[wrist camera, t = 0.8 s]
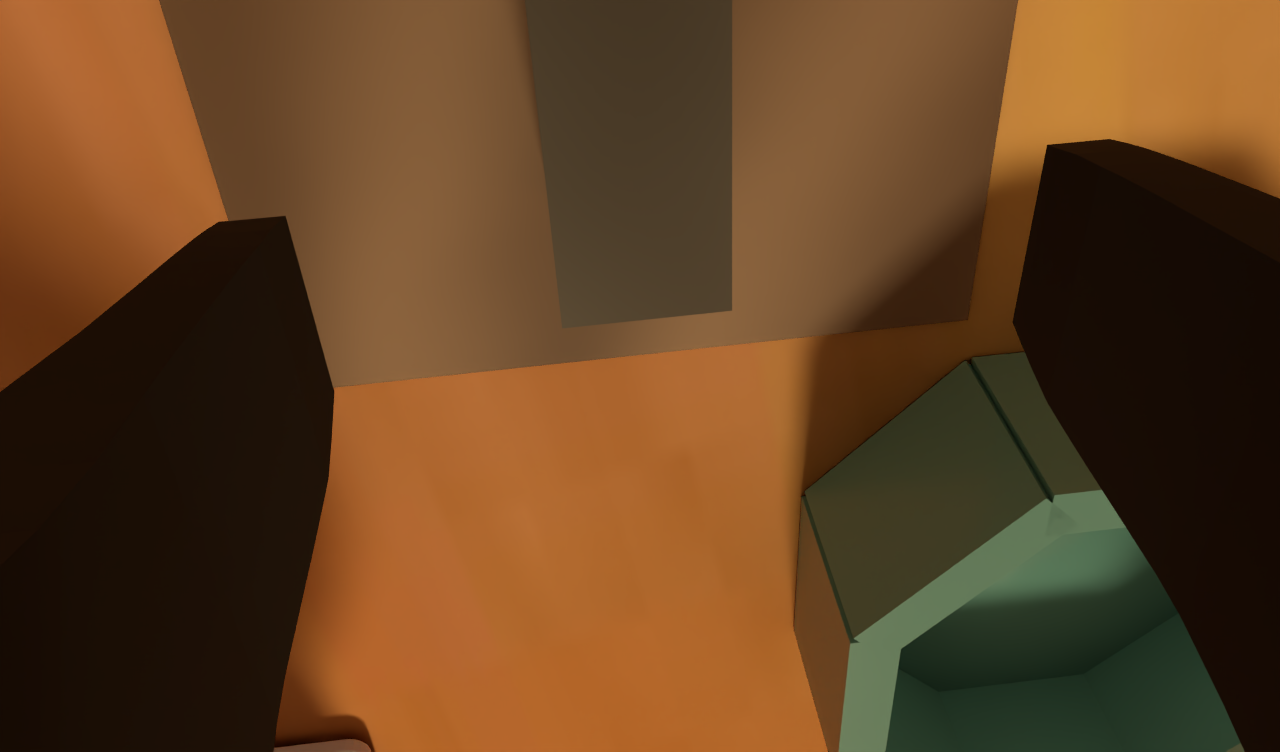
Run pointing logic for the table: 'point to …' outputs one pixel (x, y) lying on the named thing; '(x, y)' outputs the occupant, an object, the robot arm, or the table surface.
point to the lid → (602, 167)
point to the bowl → (989, 591)
